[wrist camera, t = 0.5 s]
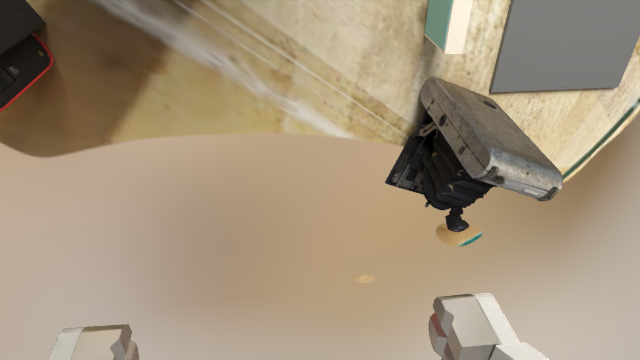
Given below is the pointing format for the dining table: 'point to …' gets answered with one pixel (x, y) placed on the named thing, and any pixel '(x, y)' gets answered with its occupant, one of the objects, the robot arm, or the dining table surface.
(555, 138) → the dining table surface
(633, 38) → the mat
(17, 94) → the alarm clock
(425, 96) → the vintage camera
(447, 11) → the box
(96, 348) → the robot arm
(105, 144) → the dining table surface
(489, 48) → the dining table surface
